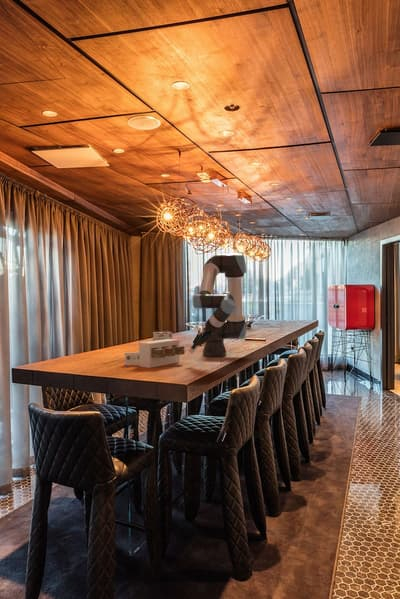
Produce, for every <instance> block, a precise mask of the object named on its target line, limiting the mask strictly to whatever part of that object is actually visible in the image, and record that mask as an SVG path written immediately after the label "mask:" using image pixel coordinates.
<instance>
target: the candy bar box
mask: <svg viewBox="0 0 400 599" xmlns="http://www.w3.org/2000/svg"><path fill="white" fill-rule="evenodd" d="M164 339H173V332H172V331H153V332H152V341H156V340H164Z"/></svg>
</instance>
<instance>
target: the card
mask: <svg viewBox="0 0 400 599" xmlns="http://www.w3.org/2000/svg"><path fill="white" fill-rule="evenodd" d="M124 366H139V351H137V352H136V351H134V352H131V351H130V352H124Z"/></svg>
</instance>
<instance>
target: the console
mask: <svg viewBox="0 0 400 599" xmlns="http://www.w3.org/2000/svg"><path fill="white" fill-rule="evenodd" d="M138 343H139V344H138V352H139V365H138V366H139V367H142V368H149V369H150V368H155V367H161V366H167V365H172V364H178V363H180V355H176V354H175V356H170V357H169V356H165V357H164V358H153V357H151V349H152V348H158V349H162V347H172V346H173V345H176V346H180V339H176V338H174V339H173V338H172V339H164V340H156V341H153V340H150V341H149V340H148V341H142V342H138Z"/></svg>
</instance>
